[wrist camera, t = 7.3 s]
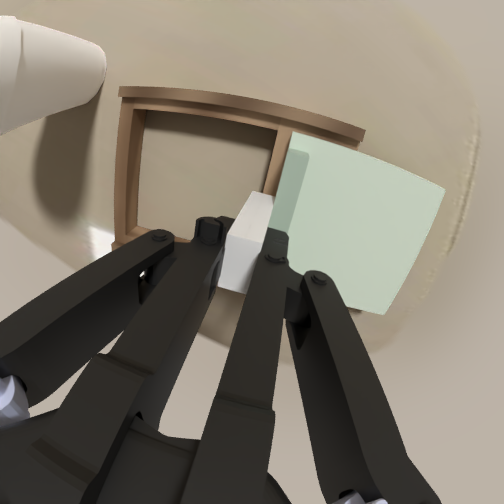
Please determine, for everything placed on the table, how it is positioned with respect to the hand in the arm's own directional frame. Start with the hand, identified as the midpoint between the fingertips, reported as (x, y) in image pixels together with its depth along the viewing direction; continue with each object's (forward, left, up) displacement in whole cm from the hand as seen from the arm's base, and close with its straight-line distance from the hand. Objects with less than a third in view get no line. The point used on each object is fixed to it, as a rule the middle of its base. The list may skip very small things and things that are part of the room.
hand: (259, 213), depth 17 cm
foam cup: (-19, +9, -4) cm, 21 cm away
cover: (+6, 0, -1) cm, 6 cm away
